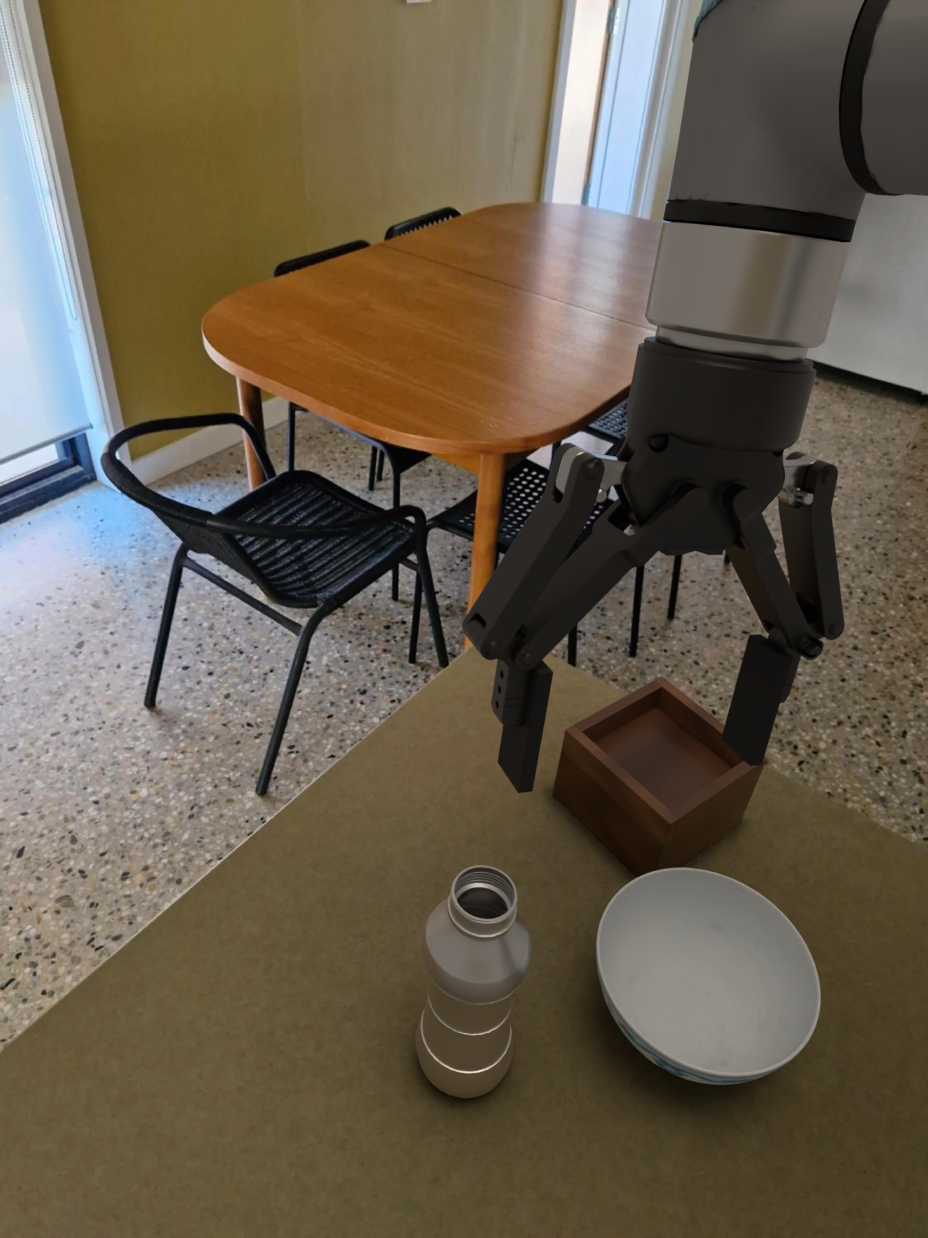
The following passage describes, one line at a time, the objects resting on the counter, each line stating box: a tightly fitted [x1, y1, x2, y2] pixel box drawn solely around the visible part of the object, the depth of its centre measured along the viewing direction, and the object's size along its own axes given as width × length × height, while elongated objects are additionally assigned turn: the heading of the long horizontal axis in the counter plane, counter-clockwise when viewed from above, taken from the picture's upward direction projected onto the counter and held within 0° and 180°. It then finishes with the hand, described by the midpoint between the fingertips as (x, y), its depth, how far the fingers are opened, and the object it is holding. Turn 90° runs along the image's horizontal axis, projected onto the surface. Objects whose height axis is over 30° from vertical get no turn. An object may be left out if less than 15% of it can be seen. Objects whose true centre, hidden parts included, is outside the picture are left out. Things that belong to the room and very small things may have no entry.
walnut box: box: [552, 676, 768, 878], centre depth 77 cm, size 12×12×8 cm
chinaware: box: [595, 867, 822, 1086], centre depth 63 cm, size 15×15×8 cm
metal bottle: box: [414, 864, 532, 1099], centre depth 55 cm, size 6×7×20 cm
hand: (633, 764), depth 46 cm, fingers open, 13 cm apart
